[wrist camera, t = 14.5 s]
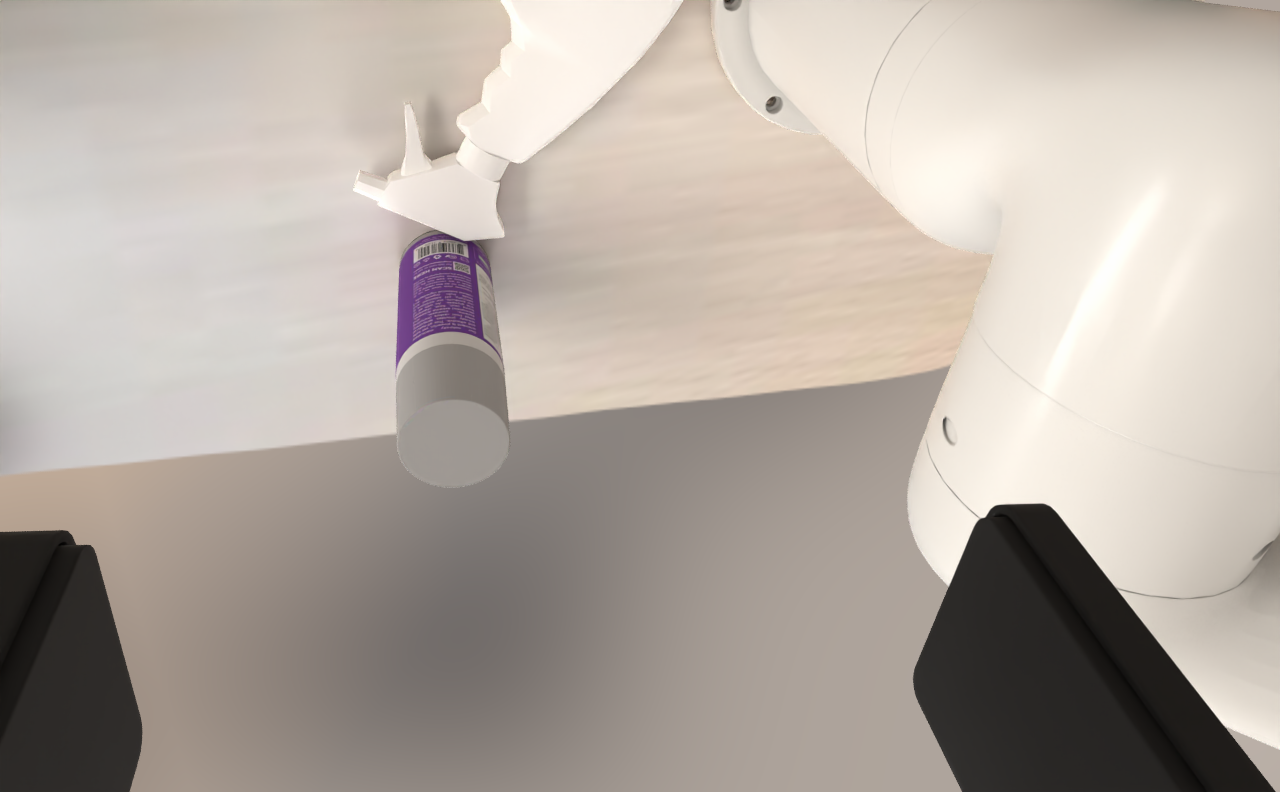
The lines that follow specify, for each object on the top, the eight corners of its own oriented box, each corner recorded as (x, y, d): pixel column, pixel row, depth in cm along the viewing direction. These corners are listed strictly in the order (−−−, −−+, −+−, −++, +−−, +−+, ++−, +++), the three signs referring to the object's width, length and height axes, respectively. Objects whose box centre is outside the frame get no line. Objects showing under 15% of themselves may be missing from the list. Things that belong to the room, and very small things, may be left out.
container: (382, 284, 50) (371, 465, 38) (427, 213, 48) (430, 378, 36) (461, 323, 52) (475, 505, 40) (507, 256, 50) (535, 425, 38)
